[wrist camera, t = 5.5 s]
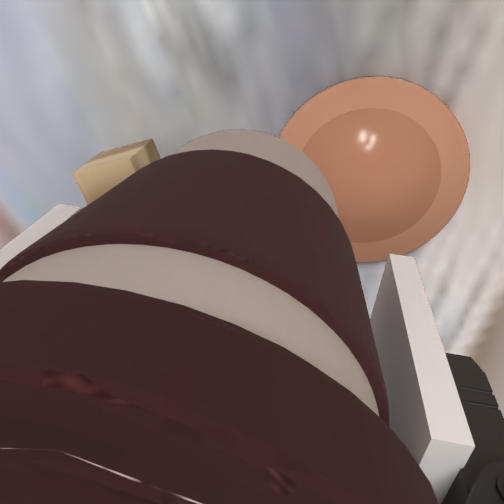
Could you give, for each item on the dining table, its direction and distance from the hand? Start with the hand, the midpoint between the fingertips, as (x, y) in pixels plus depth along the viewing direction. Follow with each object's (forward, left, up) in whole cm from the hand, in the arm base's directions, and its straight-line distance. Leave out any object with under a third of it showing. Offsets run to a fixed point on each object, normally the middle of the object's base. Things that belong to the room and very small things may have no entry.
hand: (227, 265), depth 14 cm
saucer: (+5, +7, -22) cm, 24 cm away
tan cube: (+7, -12, -23) cm, 27 cm away
